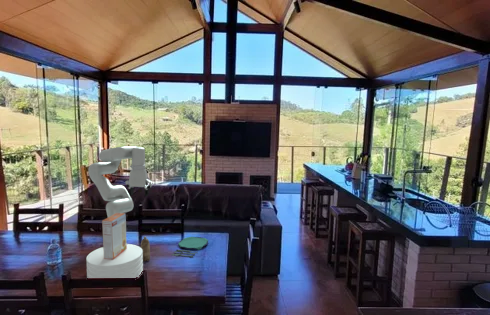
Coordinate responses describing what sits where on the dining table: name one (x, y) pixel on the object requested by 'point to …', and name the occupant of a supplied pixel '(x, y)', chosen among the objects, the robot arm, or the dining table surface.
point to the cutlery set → (191, 245)
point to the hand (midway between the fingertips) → (139, 195)
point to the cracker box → (114, 235)
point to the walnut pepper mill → (145, 249)
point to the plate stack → (115, 264)
